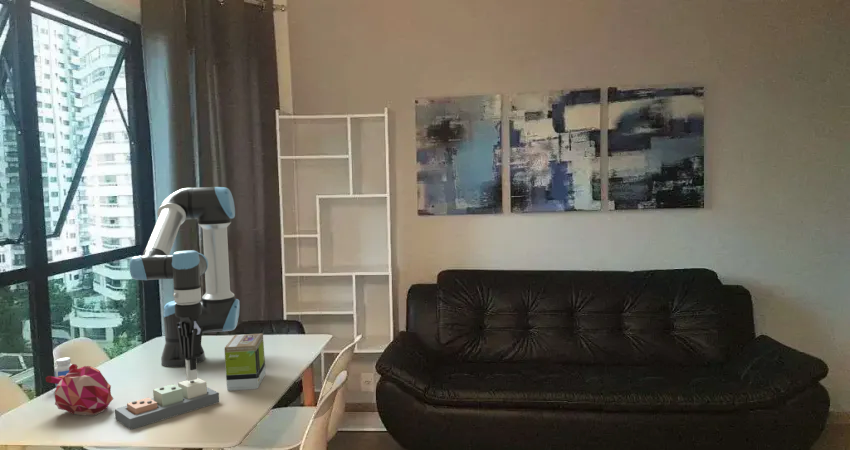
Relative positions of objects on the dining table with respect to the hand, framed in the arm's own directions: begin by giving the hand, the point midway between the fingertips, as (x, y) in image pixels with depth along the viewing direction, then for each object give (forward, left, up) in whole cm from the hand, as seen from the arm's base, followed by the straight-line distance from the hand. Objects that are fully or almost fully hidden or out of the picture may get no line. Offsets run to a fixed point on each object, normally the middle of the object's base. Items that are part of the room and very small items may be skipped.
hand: (191, 379), depth 183 cm
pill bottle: (-46, -21, -8) cm, 51 cm away
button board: (0, -7, -8) cm, 10 cm away
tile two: (0, -7, -5) cm, 9 cm away
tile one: (0, 0, -5) cm, 5 cm away
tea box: (-4, +21, -8) cm, 22 cm away
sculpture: (-20, -24, -8) cm, 33 cm away
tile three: (0, -15, -7) cm, 16 cm away
